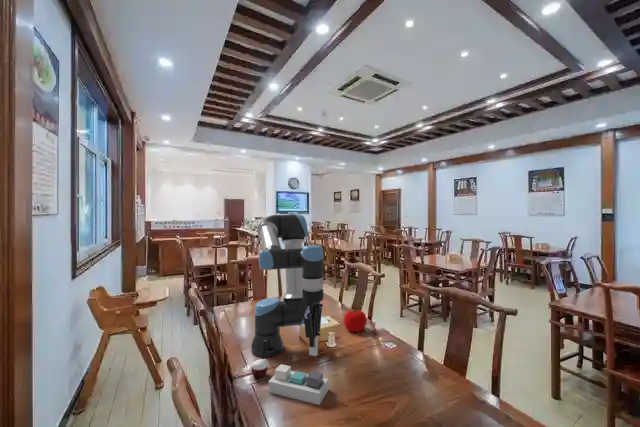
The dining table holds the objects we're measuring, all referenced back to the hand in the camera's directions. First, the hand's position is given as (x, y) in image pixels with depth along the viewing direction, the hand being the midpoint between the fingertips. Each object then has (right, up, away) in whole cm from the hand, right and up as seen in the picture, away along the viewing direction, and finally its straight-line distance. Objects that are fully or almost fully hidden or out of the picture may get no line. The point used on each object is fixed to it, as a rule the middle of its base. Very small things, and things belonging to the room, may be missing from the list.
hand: (313, 354), depth 108 cm
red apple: (+22, -14, +58) cm, 63 cm away
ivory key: (-12, -12, +5) cm, 17 cm away
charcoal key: (+1, -12, 0) cm, 12 cm away
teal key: (-5, -13, +3) cm, 14 cm away
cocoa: (-22, -15, +14) cm, 30 cm away
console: (-5, -15, +3) cm, 16 cm away
